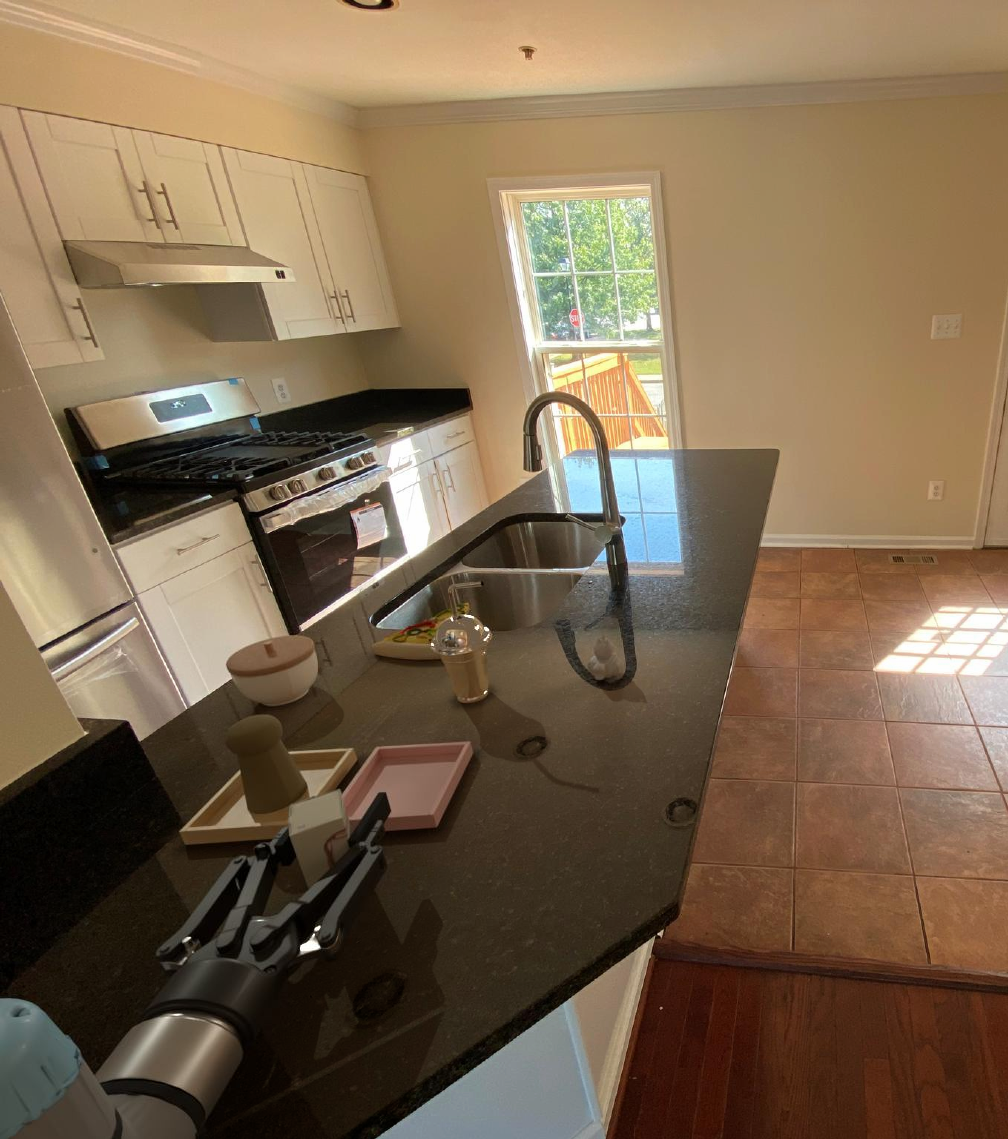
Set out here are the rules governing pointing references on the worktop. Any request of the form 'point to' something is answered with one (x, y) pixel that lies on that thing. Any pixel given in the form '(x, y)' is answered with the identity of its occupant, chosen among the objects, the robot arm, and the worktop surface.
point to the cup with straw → (464, 650)
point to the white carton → (319, 833)
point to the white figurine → (604, 660)
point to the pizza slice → (415, 638)
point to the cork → (265, 764)
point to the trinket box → (275, 669)
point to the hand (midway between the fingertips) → (352, 804)
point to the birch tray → (236, 823)
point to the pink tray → (408, 783)
